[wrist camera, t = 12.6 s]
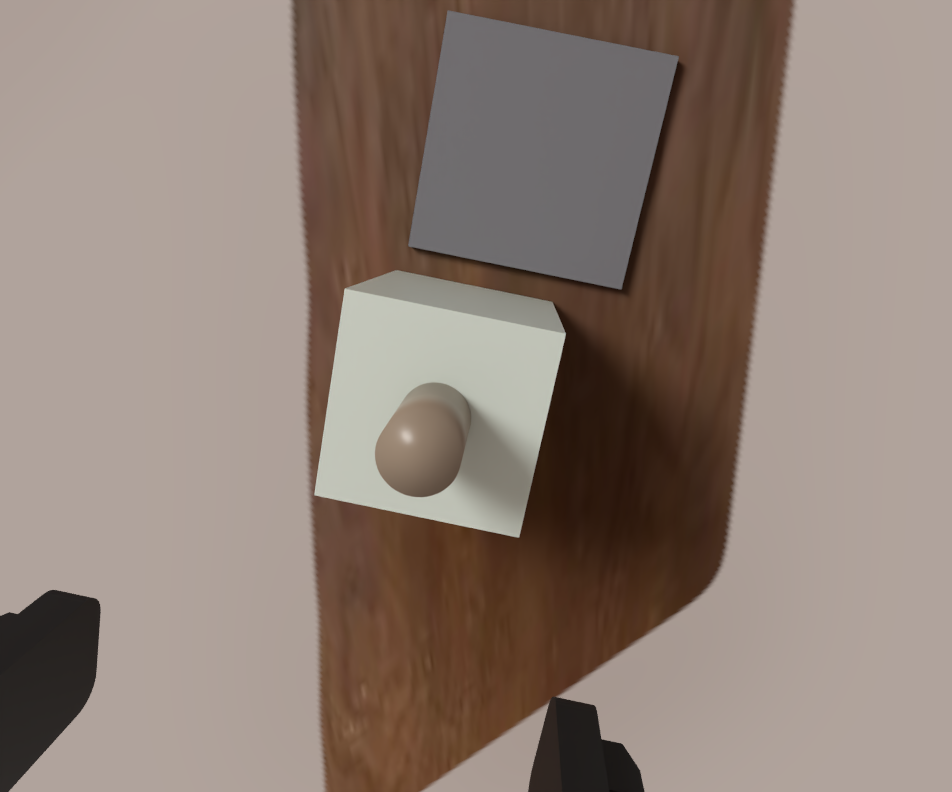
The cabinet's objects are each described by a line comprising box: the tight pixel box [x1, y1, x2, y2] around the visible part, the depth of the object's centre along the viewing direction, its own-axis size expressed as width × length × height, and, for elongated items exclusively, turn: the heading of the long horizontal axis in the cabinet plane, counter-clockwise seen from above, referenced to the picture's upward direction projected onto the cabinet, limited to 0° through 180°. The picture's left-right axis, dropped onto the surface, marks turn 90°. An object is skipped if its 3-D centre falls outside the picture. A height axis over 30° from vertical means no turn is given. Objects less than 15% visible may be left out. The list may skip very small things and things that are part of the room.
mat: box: [408, 11, 679, 289], centre depth 37 cm, size 12×12×1 cm
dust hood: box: [314, 270, 566, 538], centre depth 32 cm, size 9×9×17 cm
